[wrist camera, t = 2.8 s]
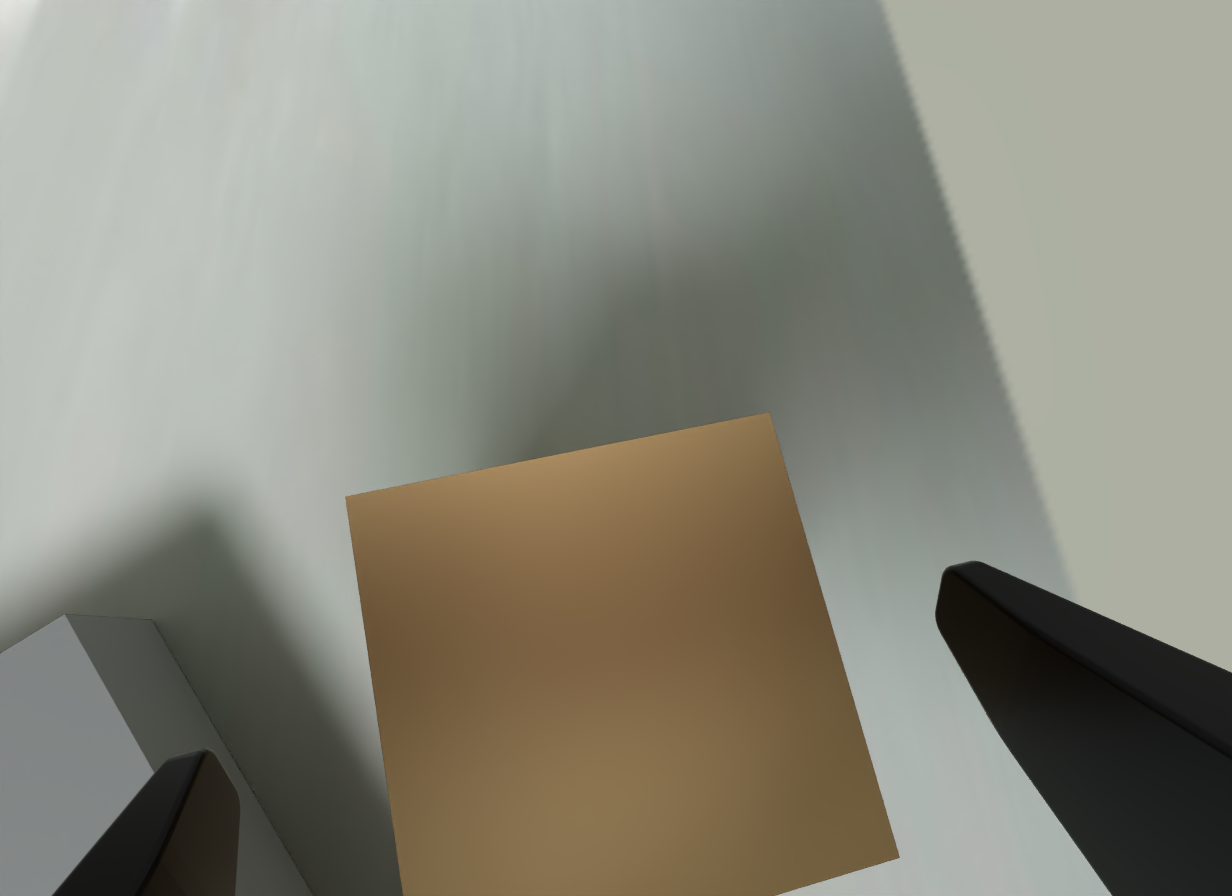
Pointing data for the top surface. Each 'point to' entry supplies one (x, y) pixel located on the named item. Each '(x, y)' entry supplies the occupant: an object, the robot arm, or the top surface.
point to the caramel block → (613, 676)
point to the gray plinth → (104, 751)
